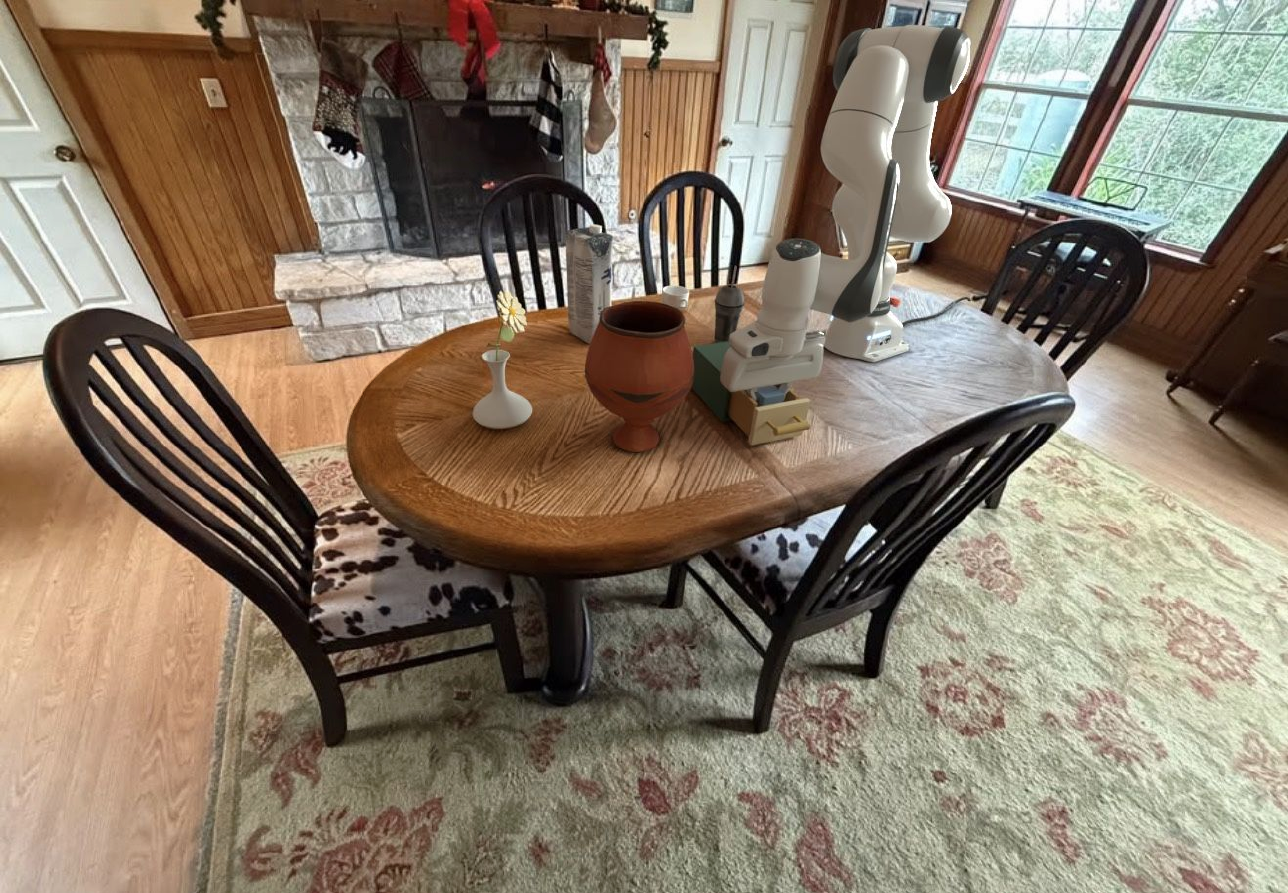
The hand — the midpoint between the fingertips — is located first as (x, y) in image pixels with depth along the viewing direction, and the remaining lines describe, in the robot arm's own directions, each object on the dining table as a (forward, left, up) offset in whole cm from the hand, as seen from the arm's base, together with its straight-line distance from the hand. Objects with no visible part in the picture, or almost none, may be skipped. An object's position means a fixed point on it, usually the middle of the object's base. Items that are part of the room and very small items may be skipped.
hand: (765, 402), depth 106 cm
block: (0, 0, -2) cm, 2 cm away
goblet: (+25, -4, -6) cm, 26 cm away
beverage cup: (-11, -36, -6) cm, 38 cm away
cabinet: (0, -12, -6) cm, 14 cm away
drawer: (0, 0, -5) cm, 5 cm away
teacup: (-9, -61, -6) cm, 62 cm away
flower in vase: (+47, -19, -6) cm, 51 cm away
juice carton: (+20, -51, -6) cm, 55 cm away
